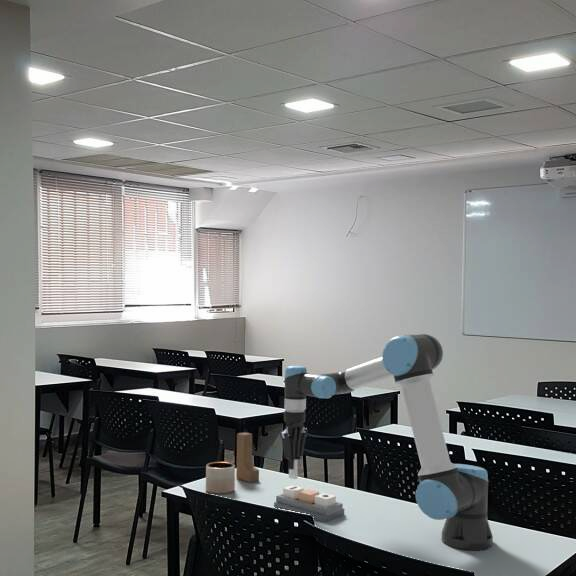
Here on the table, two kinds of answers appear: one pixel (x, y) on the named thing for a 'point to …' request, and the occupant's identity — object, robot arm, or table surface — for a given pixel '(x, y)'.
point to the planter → (220, 477)
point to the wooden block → (245, 459)
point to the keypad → (310, 508)
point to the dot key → (325, 500)
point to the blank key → (308, 496)
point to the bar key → (292, 492)
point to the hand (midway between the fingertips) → (293, 477)
